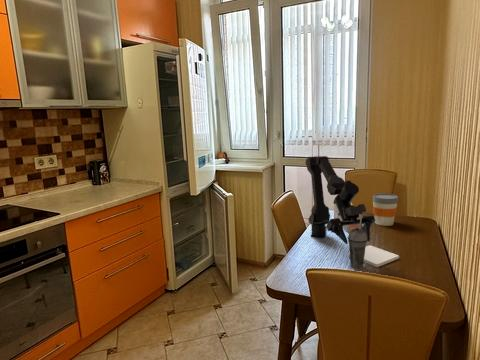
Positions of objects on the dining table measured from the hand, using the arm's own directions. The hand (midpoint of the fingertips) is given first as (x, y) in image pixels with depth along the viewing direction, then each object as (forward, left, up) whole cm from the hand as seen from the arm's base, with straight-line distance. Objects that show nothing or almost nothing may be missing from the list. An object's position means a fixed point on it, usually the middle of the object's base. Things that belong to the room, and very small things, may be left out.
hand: (358, 242), depth 133 cm
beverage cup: (0, 0, -10) cm, 10 cm away
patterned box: (-12, +49, -11) cm, 51 cm away
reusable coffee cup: (+6, +60, -10) cm, 62 cm away
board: (+5, +12, -10) cm, 17 cm away
